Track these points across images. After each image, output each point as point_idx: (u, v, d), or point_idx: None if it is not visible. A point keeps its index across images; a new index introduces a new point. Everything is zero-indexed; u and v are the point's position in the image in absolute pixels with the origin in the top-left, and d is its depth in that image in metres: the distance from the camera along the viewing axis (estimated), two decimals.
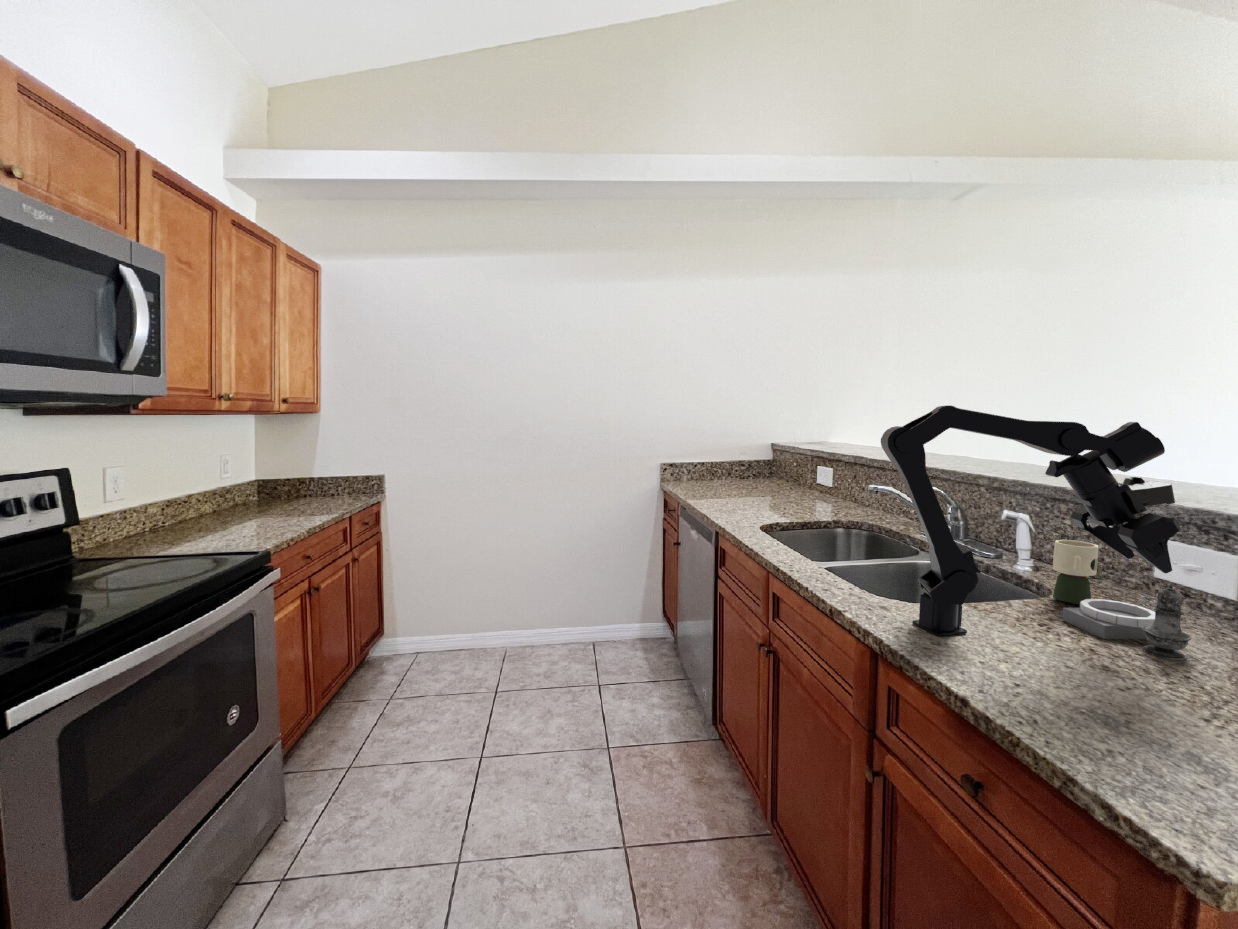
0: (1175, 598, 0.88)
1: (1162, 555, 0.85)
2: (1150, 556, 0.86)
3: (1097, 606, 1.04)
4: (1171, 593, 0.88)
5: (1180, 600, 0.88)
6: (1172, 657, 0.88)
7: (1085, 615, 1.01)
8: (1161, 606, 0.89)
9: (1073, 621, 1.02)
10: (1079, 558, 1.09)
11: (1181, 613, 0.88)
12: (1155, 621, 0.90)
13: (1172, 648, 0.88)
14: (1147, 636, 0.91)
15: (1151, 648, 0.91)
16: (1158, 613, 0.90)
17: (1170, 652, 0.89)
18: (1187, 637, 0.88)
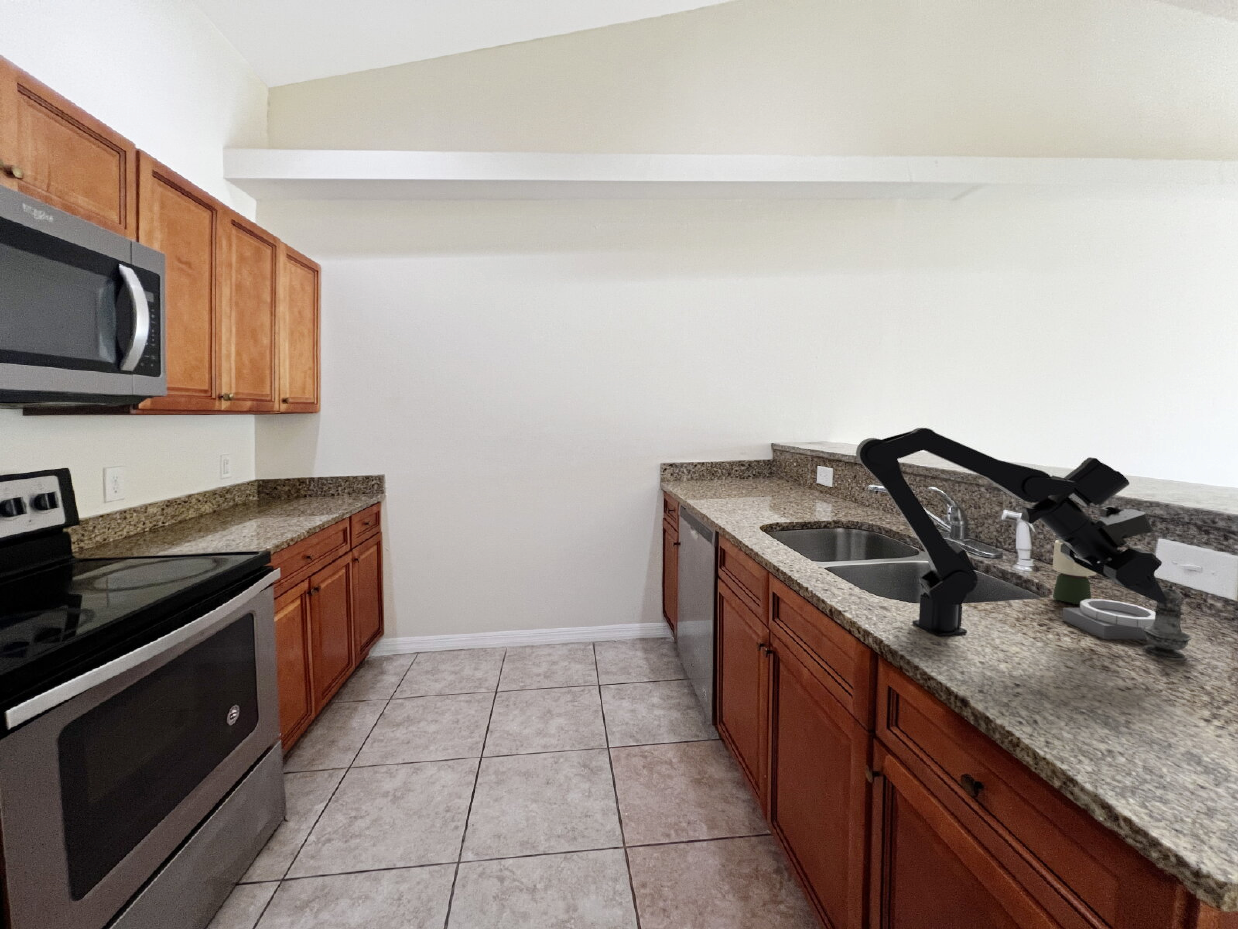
0: (1175, 598, 0.88)
1: (1153, 587, 0.85)
2: (1141, 590, 0.86)
3: (1097, 606, 1.04)
4: (1171, 593, 0.88)
5: (1180, 600, 0.88)
6: (1172, 657, 0.88)
7: (1085, 615, 1.01)
8: (1161, 606, 0.89)
9: (1073, 621, 1.02)
10: None
11: (1181, 613, 0.88)
12: (1155, 621, 0.90)
13: (1172, 648, 0.88)
14: (1147, 636, 0.91)
15: (1151, 648, 0.91)
16: (1158, 613, 0.90)
17: (1170, 652, 0.89)
18: (1187, 637, 0.88)
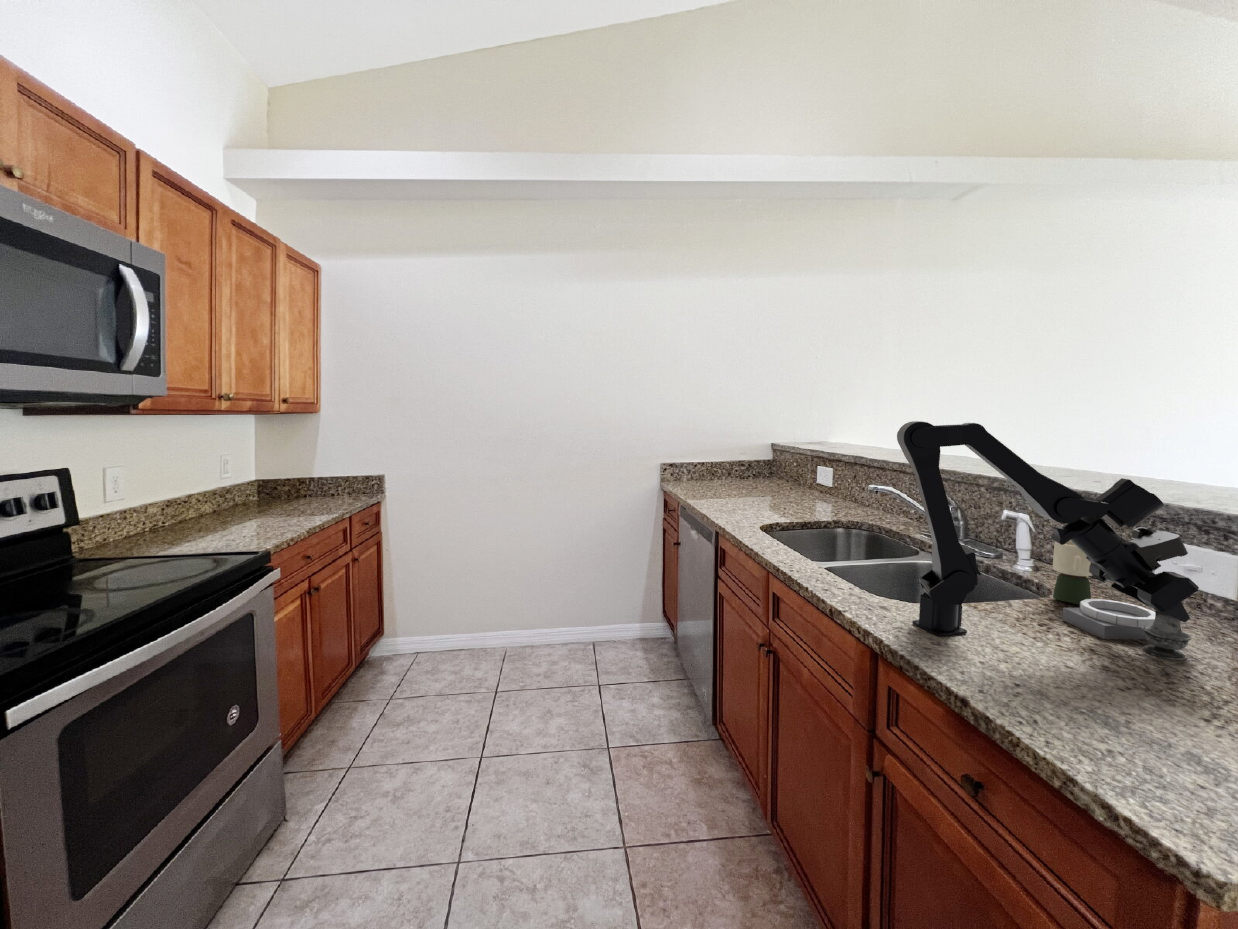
0: None
1: (1176, 606, 0.87)
2: None
3: (1097, 606, 1.04)
4: None
5: None
6: (1172, 657, 0.88)
7: (1085, 615, 1.01)
8: None
9: (1073, 621, 1.02)
10: (1079, 558, 1.09)
11: None
12: (1155, 621, 0.90)
13: (1172, 648, 0.88)
14: (1147, 636, 0.91)
15: (1151, 648, 0.91)
16: (1158, 613, 0.90)
17: (1170, 652, 0.89)
18: (1187, 637, 0.88)
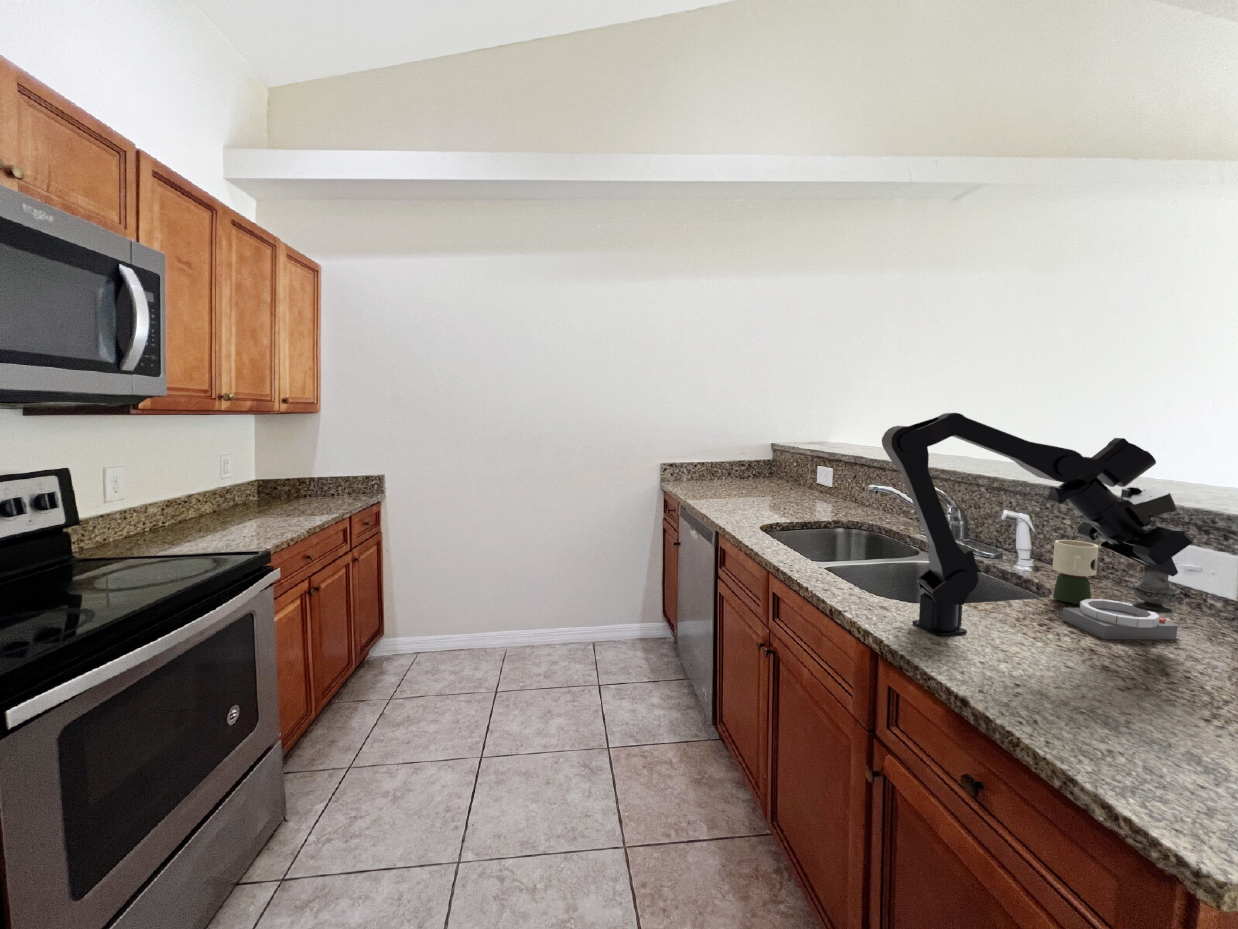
0: None
1: (1166, 561, 0.89)
2: (1156, 563, 0.89)
3: (1097, 606, 1.04)
4: None
5: None
6: (1162, 611, 0.90)
7: (1085, 615, 1.01)
8: None
9: (1073, 621, 1.02)
10: (1079, 558, 1.09)
11: None
12: (1145, 577, 0.93)
13: (1162, 602, 0.91)
14: (1137, 592, 0.93)
15: (1140, 604, 0.93)
16: (1148, 569, 0.92)
17: (1159, 607, 0.92)
18: (1175, 591, 0.90)
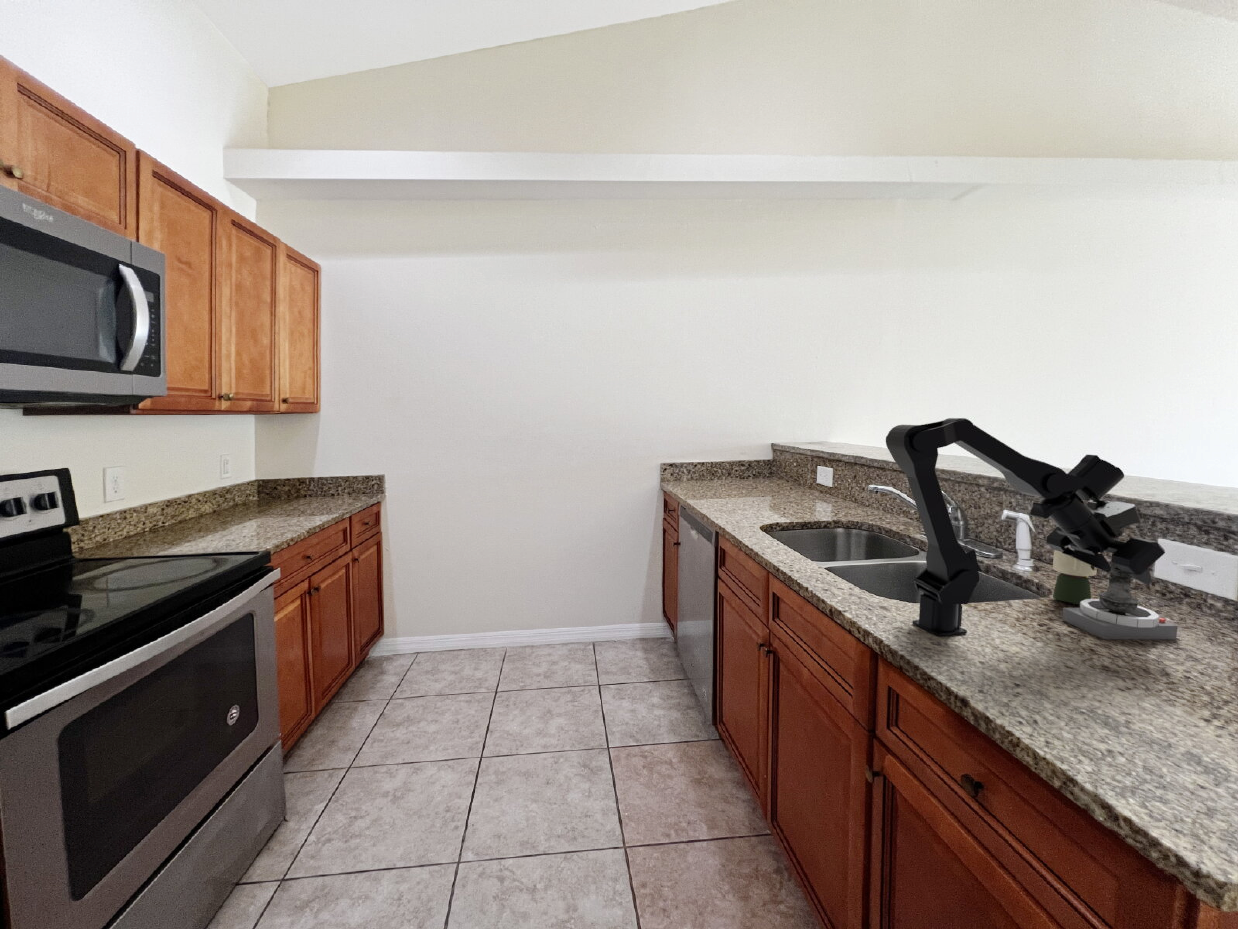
0: None
1: (1144, 571, 0.94)
2: (1136, 575, 0.94)
3: (1097, 606, 1.04)
4: None
5: None
6: None
7: (1085, 615, 1.01)
8: (1116, 574, 0.99)
9: (1073, 621, 1.02)
10: None
11: (1132, 579, 0.98)
12: (1110, 588, 1.00)
13: (1127, 611, 0.98)
14: (1104, 603, 1.00)
15: None
16: (1113, 581, 0.99)
17: (1123, 615, 0.99)
18: (1137, 600, 0.98)
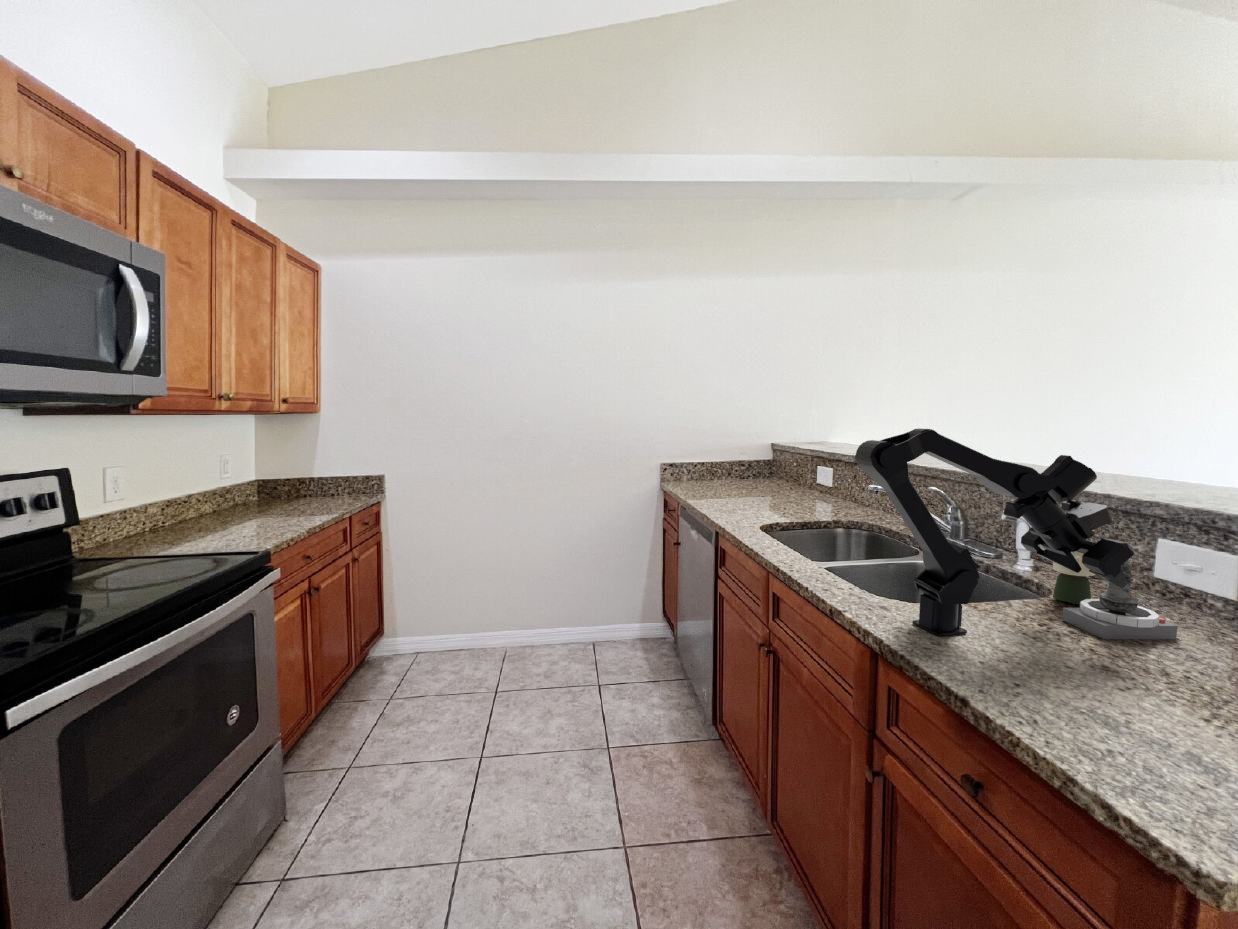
0: (1128, 566, 0.98)
1: (1118, 574, 0.93)
2: (1110, 577, 0.93)
3: (1097, 606, 1.04)
4: (1125, 562, 0.98)
5: (1131, 567, 0.98)
6: None
7: (1085, 615, 1.01)
8: None
9: (1073, 621, 1.02)
10: (1079, 558, 1.09)
11: (1132, 579, 0.98)
12: (1110, 588, 1.00)
13: (1127, 611, 0.98)
14: (1104, 603, 1.00)
15: None
16: None
17: (1123, 615, 0.99)
18: (1137, 600, 0.98)
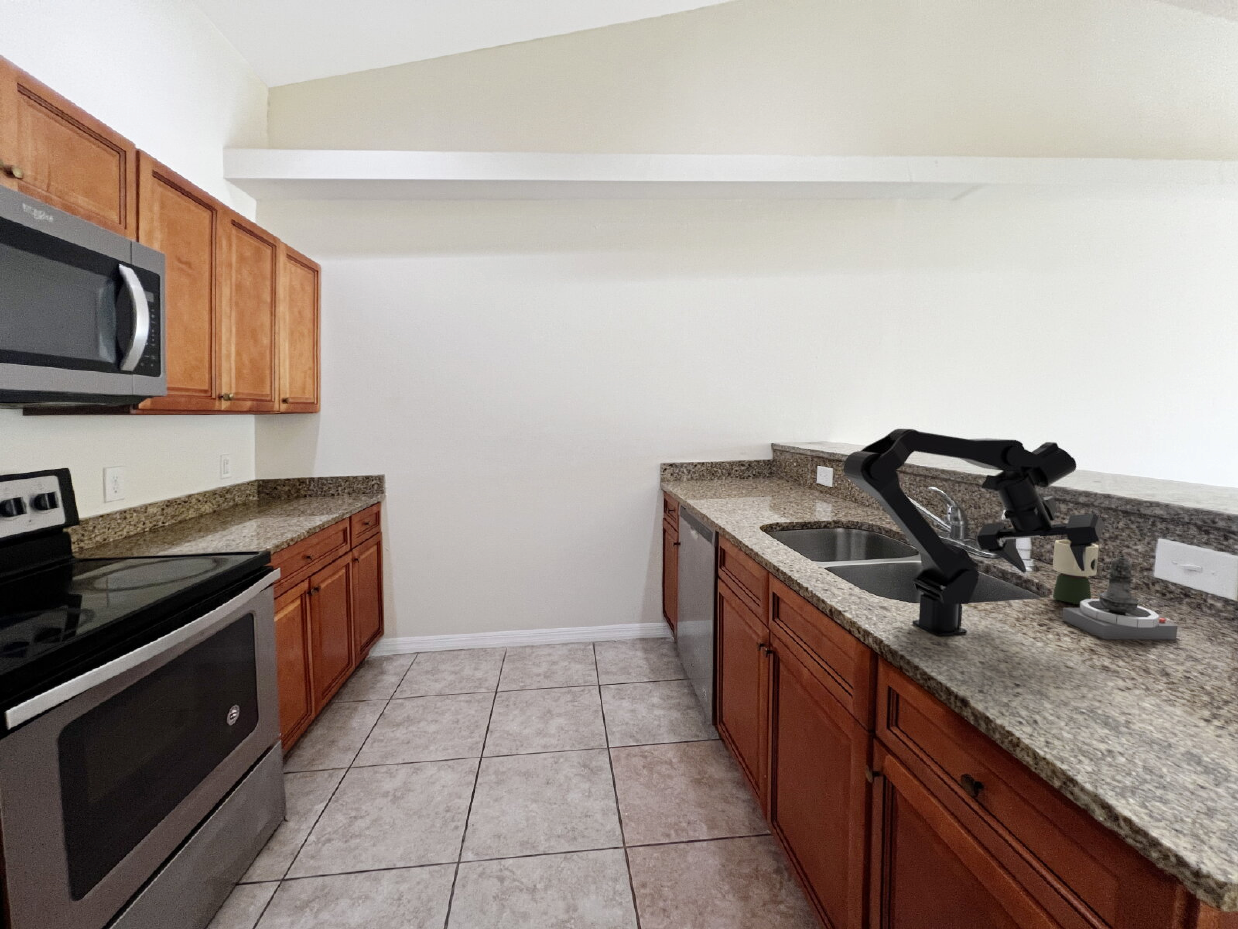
0: (1128, 566, 0.98)
1: (1084, 553, 0.96)
2: (1083, 554, 0.95)
3: (1097, 606, 1.04)
4: (1125, 562, 0.98)
5: (1131, 567, 0.98)
6: None
7: (1085, 615, 1.01)
8: (1116, 574, 0.99)
9: (1073, 621, 1.02)
10: None
11: (1132, 579, 0.98)
12: (1110, 588, 1.00)
13: (1127, 611, 0.98)
14: (1104, 603, 1.00)
15: None
16: (1113, 581, 0.99)
17: (1123, 615, 0.99)
18: (1137, 600, 0.98)
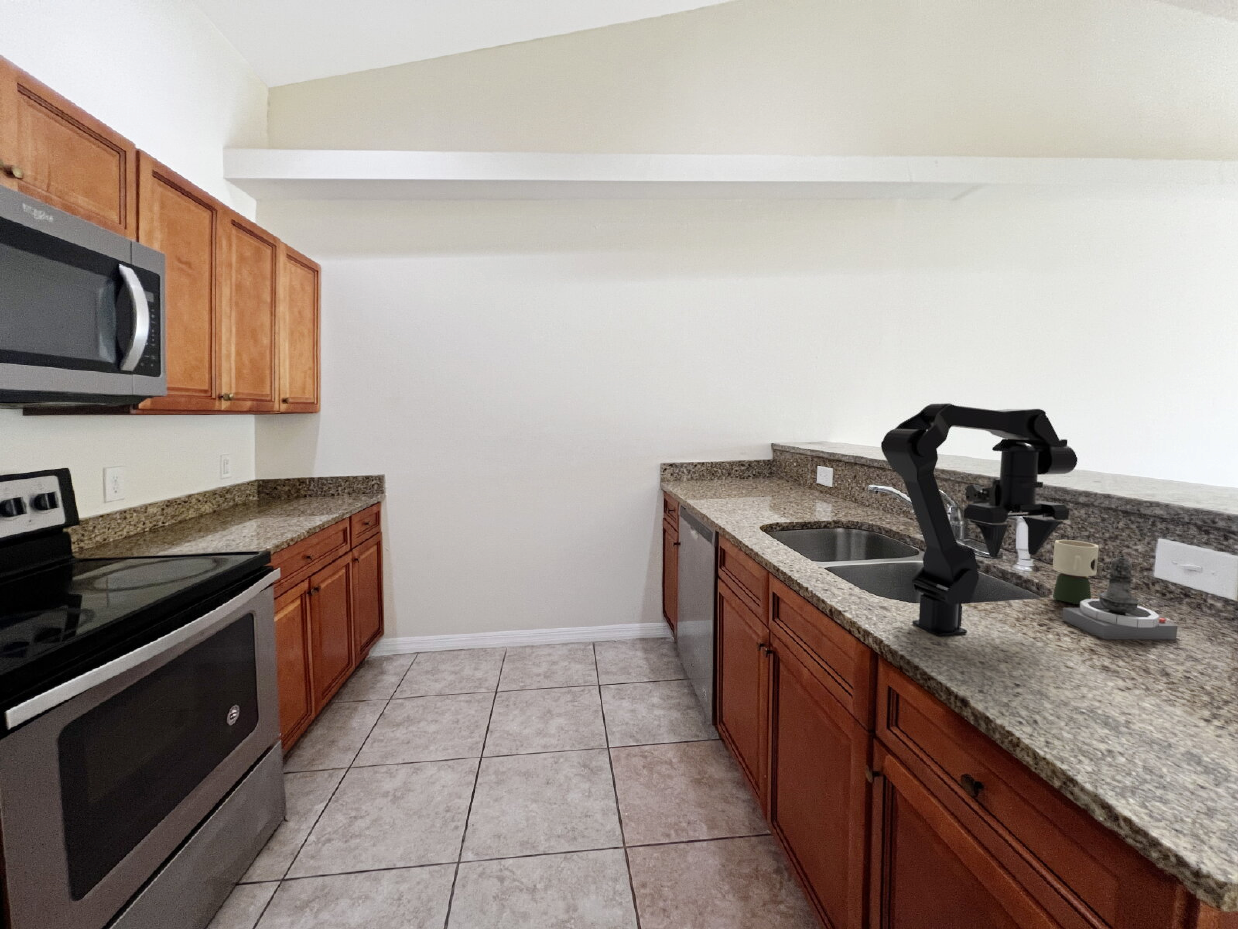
0: (1128, 566, 0.98)
1: None
2: None
3: (1097, 606, 1.04)
4: (1125, 562, 0.98)
5: (1131, 567, 0.98)
6: None
7: (1085, 615, 1.01)
8: (1116, 574, 0.99)
9: (1073, 621, 1.02)
10: (1079, 558, 1.09)
11: (1132, 579, 0.98)
12: (1110, 588, 1.00)
13: (1127, 611, 0.98)
14: (1104, 603, 1.00)
15: None
16: (1113, 581, 0.99)
17: (1123, 615, 0.99)
18: (1137, 600, 0.98)
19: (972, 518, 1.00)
